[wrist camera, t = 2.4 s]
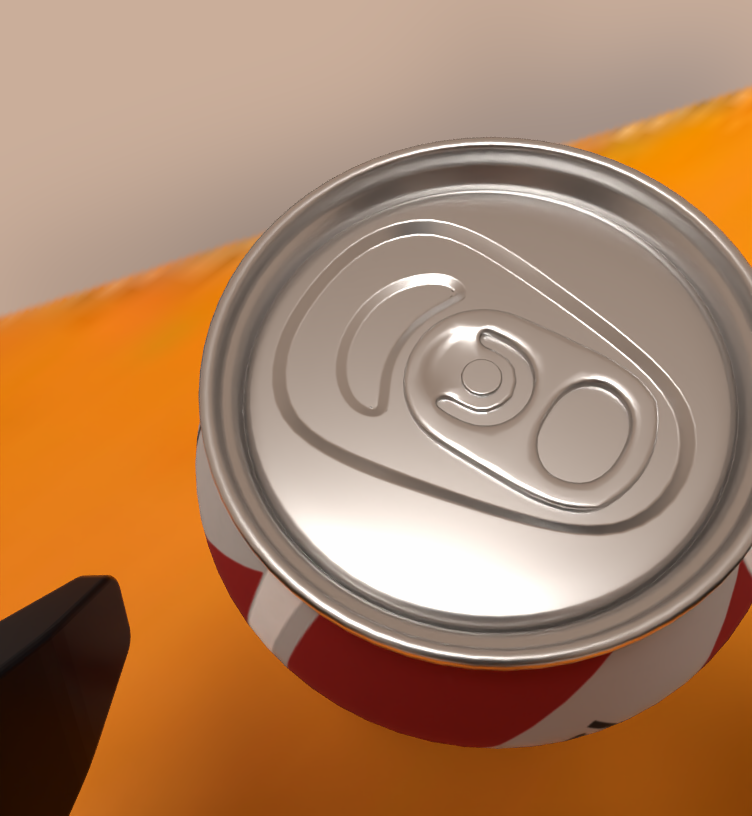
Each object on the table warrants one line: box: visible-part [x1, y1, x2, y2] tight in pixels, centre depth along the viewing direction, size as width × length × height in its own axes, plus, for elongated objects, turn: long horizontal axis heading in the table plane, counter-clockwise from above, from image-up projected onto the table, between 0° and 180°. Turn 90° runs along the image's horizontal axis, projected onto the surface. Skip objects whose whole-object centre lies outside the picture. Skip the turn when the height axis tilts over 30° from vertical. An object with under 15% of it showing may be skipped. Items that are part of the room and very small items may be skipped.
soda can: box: [196, 137, 752, 749], centre depth 12 cm, size 7×7×12 cm
